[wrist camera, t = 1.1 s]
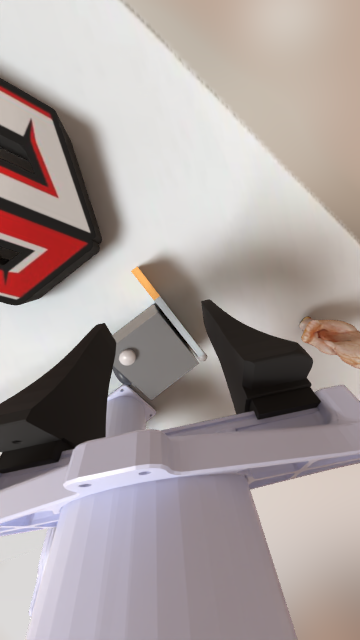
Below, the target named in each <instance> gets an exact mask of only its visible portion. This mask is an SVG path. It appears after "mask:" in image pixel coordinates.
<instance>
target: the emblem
mask: <svg viewBox="0 0 360 640" xmlns="http://www.w3.org/2000/svg"><path fill="white" fill-rule="evenodd" d="M0 147H1V148H3V149H5V150H7V151H9V152H11V153H13V154H16V155H18V156H20V157H22V158H24V159H26V160H28V161H30V163H31V166H32V168H33V170H34V172H35V174H33V173H31V172H29V171H27V170H24V169H22V168H20V167H18V166H16V165H13V164H11V163H9V162H7V161H5V160H3V159H0V246H1V247H4V248H7V249H10V250H13V251H16V252H19V253H20V254H18V255H17V256H16V257H14V258H13V259H11V260H7V259H3V258H0V302H3V303H6V304H10V305H20V304H24V303H27V302H30V301H33V300H37V299H39V298H41V297H42V296H43V295H45V294H46V293H47V292H48V291H50V290H51V289H52V288H53V287H54V286H56V285H57V284H58V283H60V282H61V281H62V280H64V278H66V277H67V276H69V275H70V274H71V273H72V272H74V271H75V270H76V269H77V268H78V267H80V266H81V265H82V264H83V263H85V262H86V261H87V260H89V259H90V258H91V257H92V256H93V255H95V254H97V253H98V252H99V249H100V247H99V244H100V243H101V242H102V237H101V234H100V231H99V227H98V224H97V221H96V218H95V215H94V212H93V209H92V206H91V202H90V199H89V196H88V193H87V190H86V187H85V184H84V181H83V178H82V174H81V171H80V169H79V165H78V162H77V159H76V156H75V153H74V150H73V147H72V143H71V140H70V138H69V136H68V135H67V133H66V131H65V129H64V127H63V125H62V123H61V121H60V119H59V117H58V115H57V113H56V111H55V110H54V109H52V108H51V107H49V106H48V105H46V104H44V103H42V102H41V101H39V100H37V99H35V98H34V97H32V96H30V95H29V94H27V93H25V92H23V91H22V90H20V89H18V88H17V87H15V86H13V85H11V84H10V83H8V82H6V81H4V80H3V79H1V78H0Z"/></svg>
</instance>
